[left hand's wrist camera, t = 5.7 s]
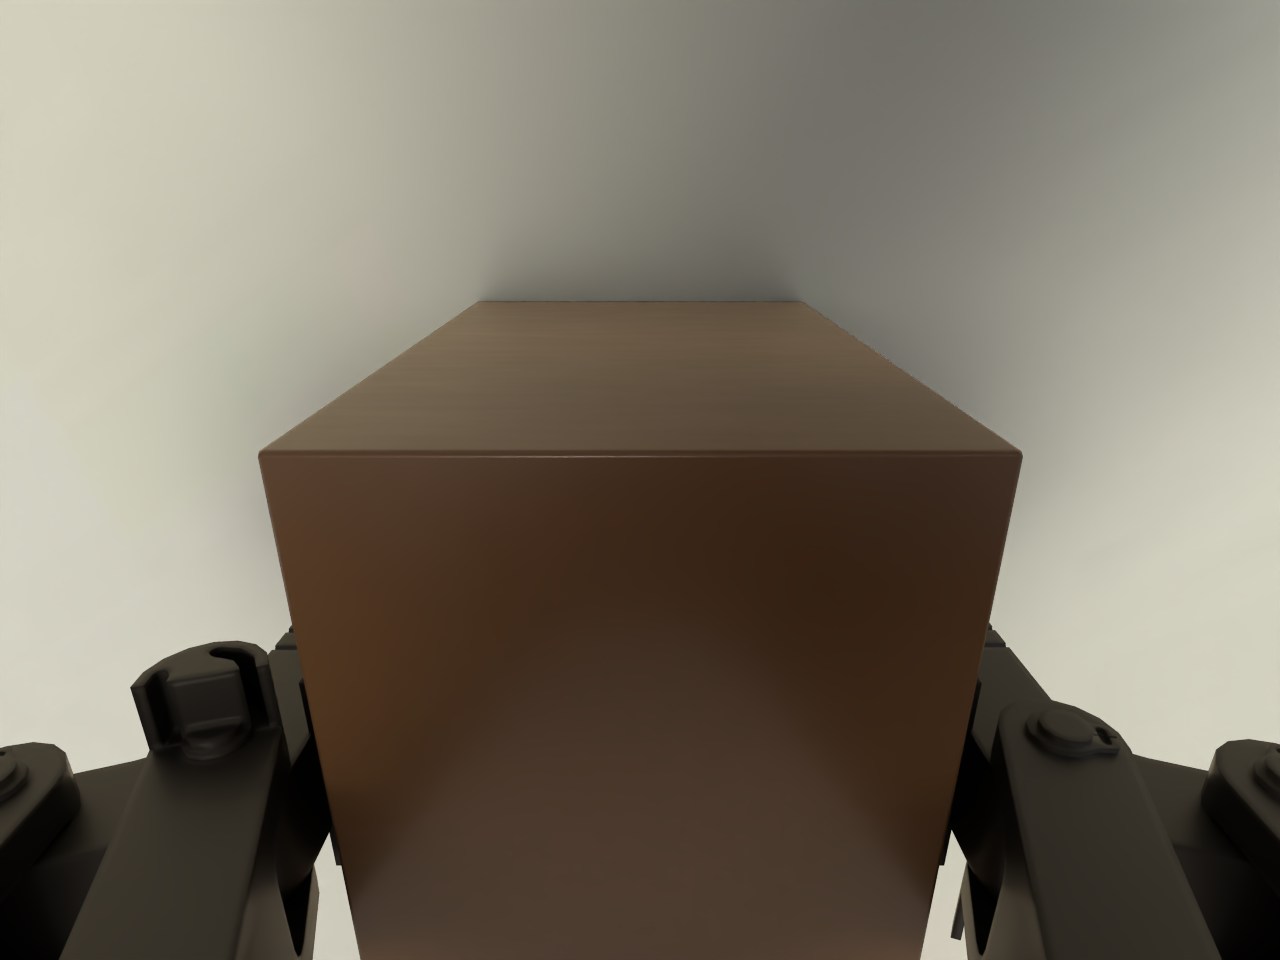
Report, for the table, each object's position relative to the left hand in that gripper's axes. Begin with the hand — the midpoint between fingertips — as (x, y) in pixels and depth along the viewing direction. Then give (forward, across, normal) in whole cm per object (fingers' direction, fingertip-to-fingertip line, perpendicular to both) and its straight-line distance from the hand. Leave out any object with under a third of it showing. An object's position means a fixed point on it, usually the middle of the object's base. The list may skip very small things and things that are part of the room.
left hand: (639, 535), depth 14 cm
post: (0, 0, -33) cm, 33 cm away
